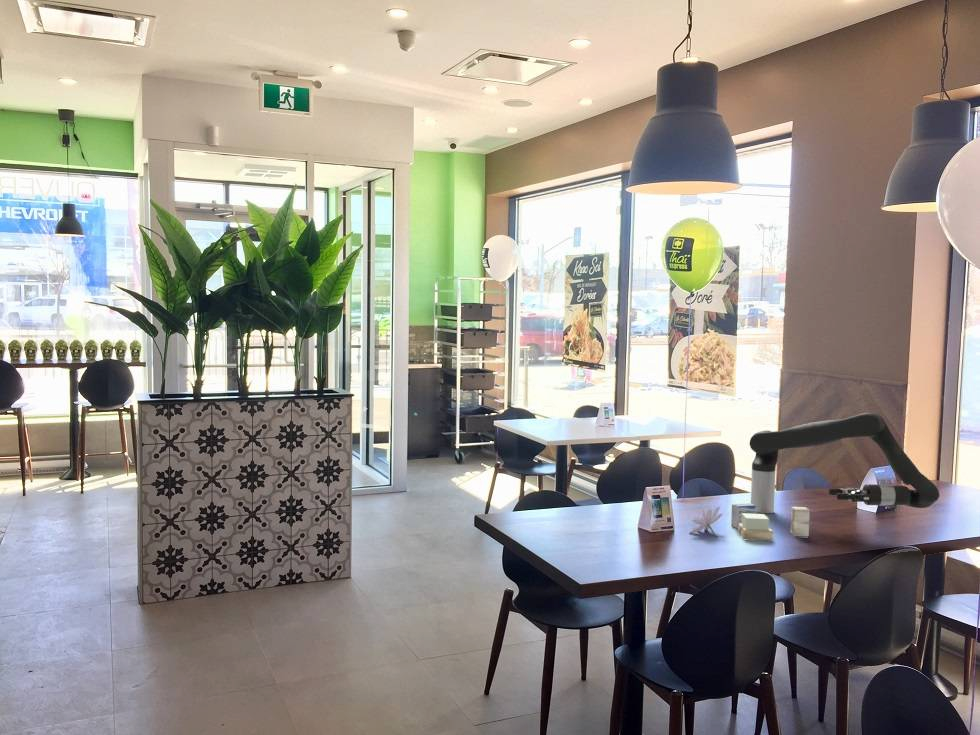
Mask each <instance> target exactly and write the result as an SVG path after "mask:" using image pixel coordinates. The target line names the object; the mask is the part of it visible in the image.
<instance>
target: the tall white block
mask: <svg viewBox="0 0 980 735" xmlns="http://www.w3.org/2000/svg"><path fill="white" fill-rule="evenodd" d="M810 514H811V513H810V509H809V508H807V507H805V506H791V514H790V515H791V516H790V517H791V518H790V534H791V533H792V534H793V535H794V536H809V537H810V534H809V533H810ZM792 534H791V535H792ZM793 535H792V536H793ZM794 536H793V537H794Z"/></svg>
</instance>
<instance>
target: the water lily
mask: <svg viewBox="0 0 980 735" xmlns="http://www.w3.org/2000/svg"><path fill="white" fill-rule="evenodd" d="M719 510H720V505H718V506H717V507H716V508H715V509H714V511H713V510H712V509H711V508H708V510H706V509H702V513H701V514H702V518H701V517H699V516H693V519H692V520H691V522H693V523H694V524H696V526H693V527H692V528H691V531H690V532H688V534H695V533H696V532H699V531H702V530H704V531H707V530H710V531H711V534H712V535H713V537H716V536H717V535H716V533H715V532H714V529H713V528H712V526H711V525H713V524H714V523H717V521H718V520H719V519H720V518H721V517H722V516H723V513H722V512H721V513H719V514H718V512H719Z"/></svg>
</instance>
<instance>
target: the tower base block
mask: <svg viewBox="0 0 980 735" xmlns="http://www.w3.org/2000/svg"><path fill="white" fill-rule="evenodd" d="M738 533H739V534H740V535H741V536H742V537H741V536H740V535H739V534H738ZM773 533H774V531H773V529H771V527H769V530H752V529H745V528H744V527H743V525H742V524H741V523H738V529H737V534H738V535H739V536H740V537H741V538H742V540H744V539H755V540H754V541H761V540H772V541H773V537H774V536H773V535H774V534H773Z"/></svg>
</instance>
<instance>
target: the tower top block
mask: <svg viewBox="0 0 980 735" xmlns="http://www.w3.org/2000/svg"><path fill="white" fill-rule="evenodd" d="M765 514H766V513H756V514H749V513H742V521H741V524H742V525H743V527H744V528H745V529H752V530H769V528H770V527H769V526H770V519H769V517H768V516H767V515H765Z"/></svg>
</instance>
